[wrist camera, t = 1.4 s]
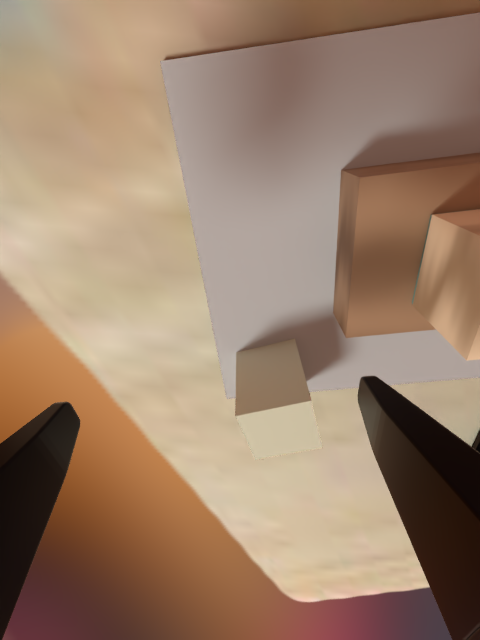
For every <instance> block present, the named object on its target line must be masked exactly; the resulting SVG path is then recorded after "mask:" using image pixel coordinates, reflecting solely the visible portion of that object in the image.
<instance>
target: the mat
mask: <svg viewBox="0 0 480 640" xmlns="http://www.w3.org/2000/svg"><path fill="white" fill-rule="evenodd" d="M160 63H161V68H162V73H163V78H164V83H165V88H166V94H167V99H168V104H169V109H170V114H171V119H172V124H173V129H174V134H175V139H176V144H177V149H178V154H179V159H180V165H181V170H182V175H183V180H184V185H185V190H186V195H187V200H188V205H189V210H190V215H191V220H192V225H193V231H194V236H195V241H196V246H197V251H198V256H199V261H200V266H201V271H202V276H203V281H204V286H205V291H206V296H207V302H208V307H209V312H210V317H211V322H212V327H213V332H214V337H215V342H216V347H217V352H218V357H219V362H220V368H221V373H222V378H223V383H224V388H225V393H226V398H227V399H232V398H236V352H240V351H245V350H249V349H253V348H257V347H261V346H266V345H270V344H274V343H278V342H282V341H287V340H291V339H295V341H296V345H297V348H298V352H299V356H300V360H301V363H302V367H303V371H304V375H305V378H306V382H307V386H308V389H309V392H314V391H326V390H338V389H350V388H359V383H360V379H361V377H363V376H377V377H378V378H379V379H381V380H382V381H384V382H385V383H386V384H388V385H397V384H409V383H420V382H432V381H444V380H456V379H468V378H479V377H480V359H479V360H468V361H466V359H465V358H464V357H463V356H462V355H461V354H460V353H459V352H458V351H457V350H456V349H455V348H454V347H453V346H452V345H451V344H450V343H449V342H448V341H447V340H446V339H445V338H444V337H443V336H442V335H441V334H440V333H439V332H438V331H437V330H426V331H416V332H405V333H394V334H384V335H373V336H363V337H352V338H346V337H345V335H344V333H343V331H342V329H341V327H340V325H339V324H338V322H337V320H336V318H335V316H334V314H333V304H334V286H335V269H336V251H337V233H338V215H339V197H340V179H341V170H345V169H353V168H361V167H369V166H376V165H384V164H392V163H400V162H408V161H416V160H424V159H432V158H440V157H448V156H456V155H463V154H471V153H479V152H480V13H473V14H466V15H460V16H453V17H447V18H440V19H434V20H427V21H420V22H414V23H407V24H401V25H394V26H388V27H381V28H375V29H368V30H361V31H355V32H348V33H342V34H335V35H329V36H322V37H315V38H309V39H302V40H296V41H289V42H283V43H276V44H270V45H263V46H256V47H250V48H243V49H237V50H230V51H224V52H217V53H210V54H204V55H197V56H191V57H184V58H178V59H171V60H165V61H160Z"/></svg>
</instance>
